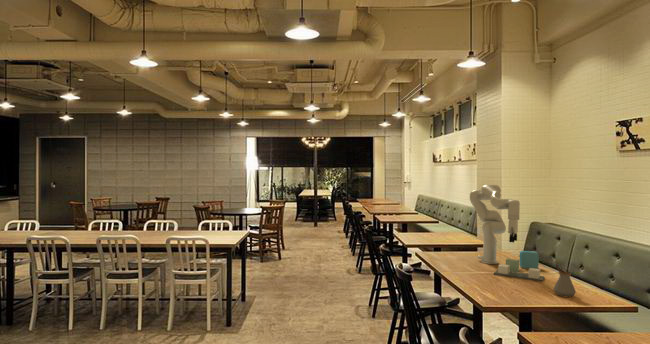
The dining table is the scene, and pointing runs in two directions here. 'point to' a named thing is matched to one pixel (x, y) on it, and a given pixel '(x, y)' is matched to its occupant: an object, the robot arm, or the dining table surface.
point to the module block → (513, 264)
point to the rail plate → (519, 276)
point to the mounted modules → (531, 272)
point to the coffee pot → (564, 284)
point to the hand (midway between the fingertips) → (513, 241)
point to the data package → (529, 259)
